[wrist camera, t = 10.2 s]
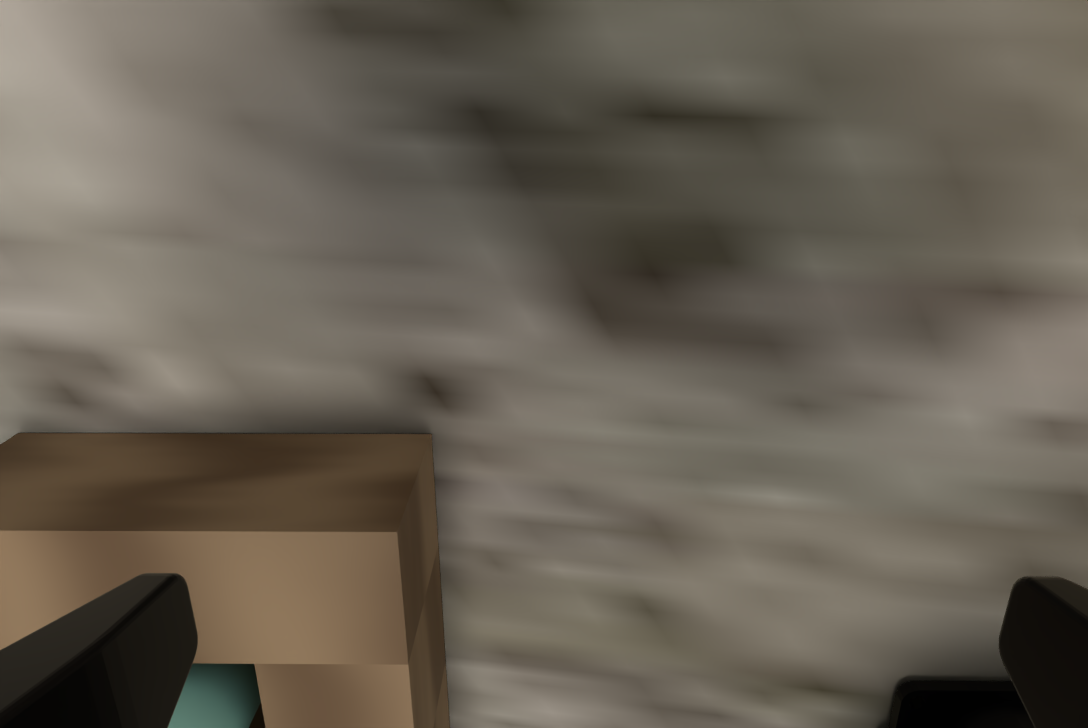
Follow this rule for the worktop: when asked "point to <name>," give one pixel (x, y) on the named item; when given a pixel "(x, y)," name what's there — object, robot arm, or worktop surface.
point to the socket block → (247, 557)
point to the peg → (217, 697)
